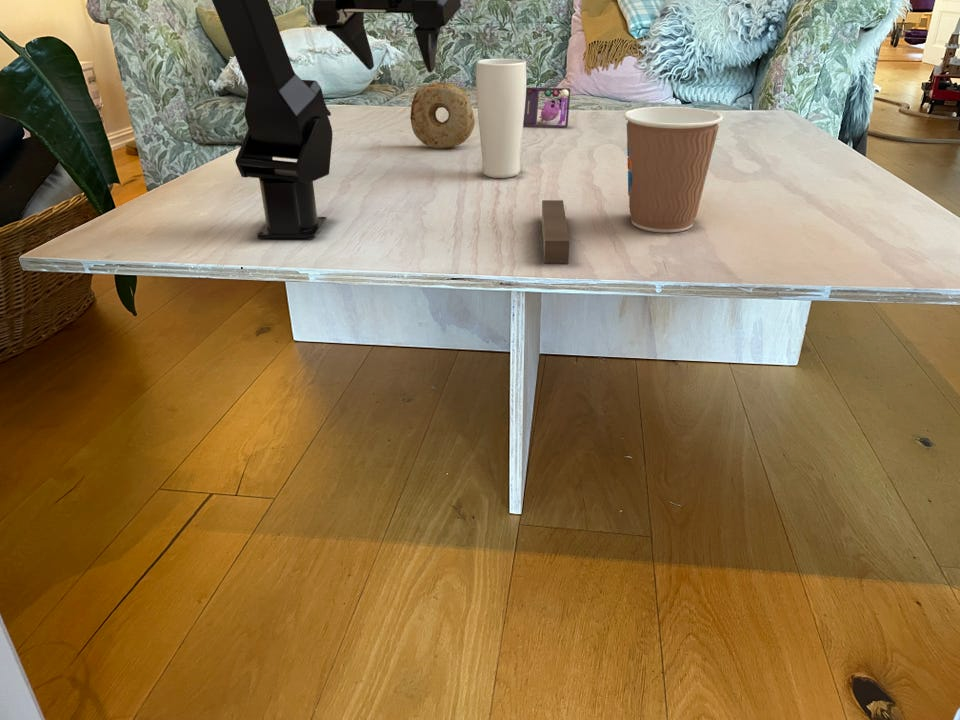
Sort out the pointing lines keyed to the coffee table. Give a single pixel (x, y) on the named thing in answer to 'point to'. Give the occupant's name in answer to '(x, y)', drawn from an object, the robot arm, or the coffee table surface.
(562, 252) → the baton
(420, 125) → the bagel
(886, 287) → the coffee table surface
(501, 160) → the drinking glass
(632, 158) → the coffee cup
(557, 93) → the purple printed box
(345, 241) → the coffee table surface
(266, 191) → the robot arm
